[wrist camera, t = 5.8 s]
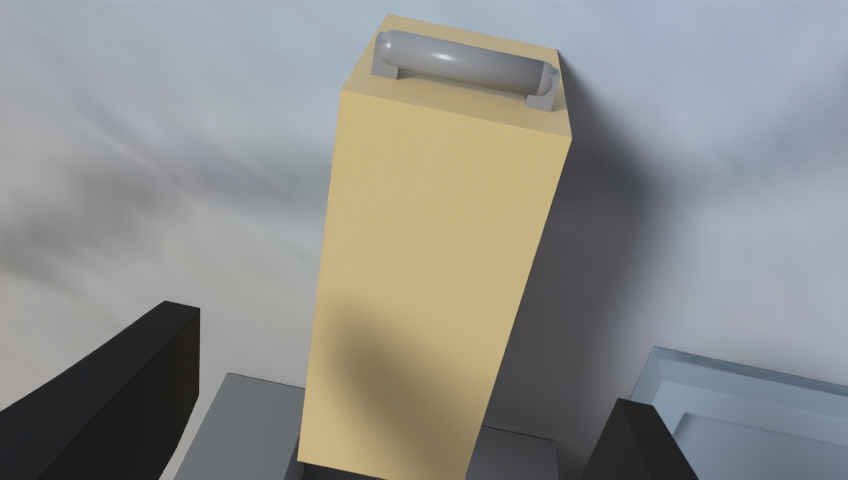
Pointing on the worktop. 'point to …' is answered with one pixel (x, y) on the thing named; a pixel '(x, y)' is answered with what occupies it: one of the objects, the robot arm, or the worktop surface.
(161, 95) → the worktop surface
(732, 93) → the worktop surface
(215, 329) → the worktop surface
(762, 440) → the tray
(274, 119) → the worktop surface
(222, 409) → the dock
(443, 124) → the tan block with handle
